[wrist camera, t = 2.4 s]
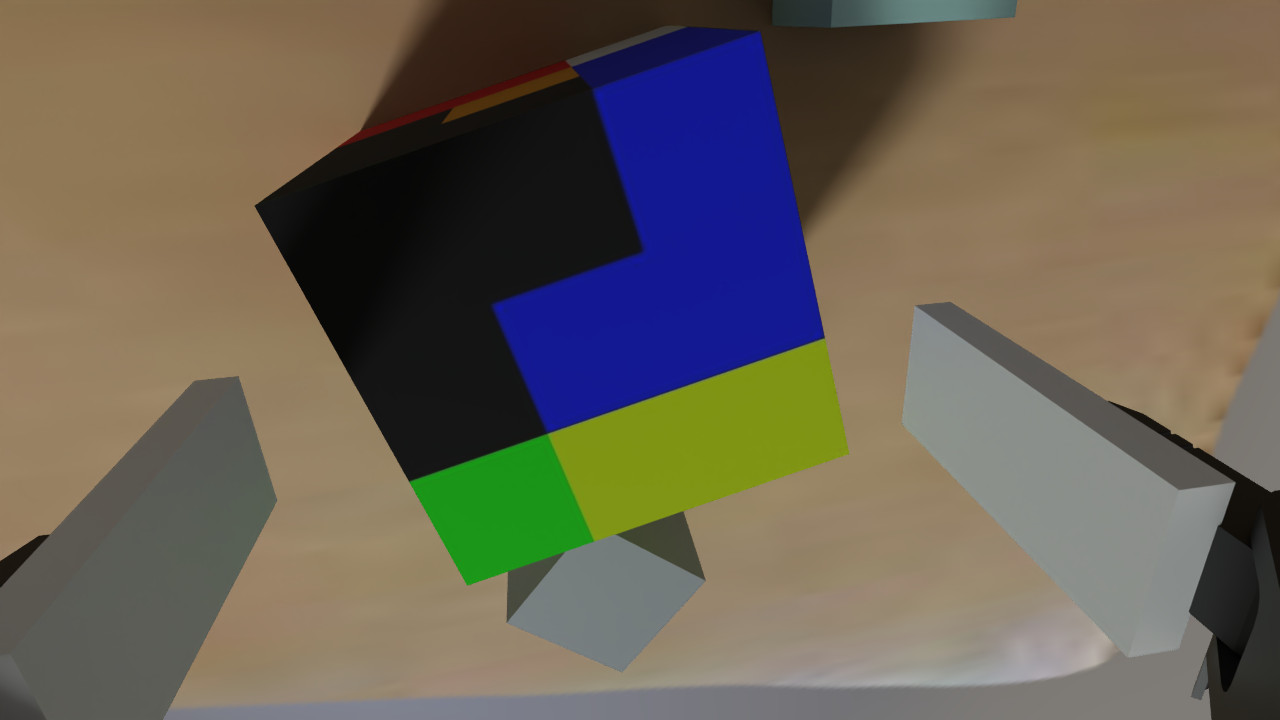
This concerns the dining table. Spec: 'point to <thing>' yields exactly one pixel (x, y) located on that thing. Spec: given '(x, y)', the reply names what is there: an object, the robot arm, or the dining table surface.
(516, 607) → the slate grey cube
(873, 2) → the dusty teal cube
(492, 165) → the puzzle toy
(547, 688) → the dining table surface
